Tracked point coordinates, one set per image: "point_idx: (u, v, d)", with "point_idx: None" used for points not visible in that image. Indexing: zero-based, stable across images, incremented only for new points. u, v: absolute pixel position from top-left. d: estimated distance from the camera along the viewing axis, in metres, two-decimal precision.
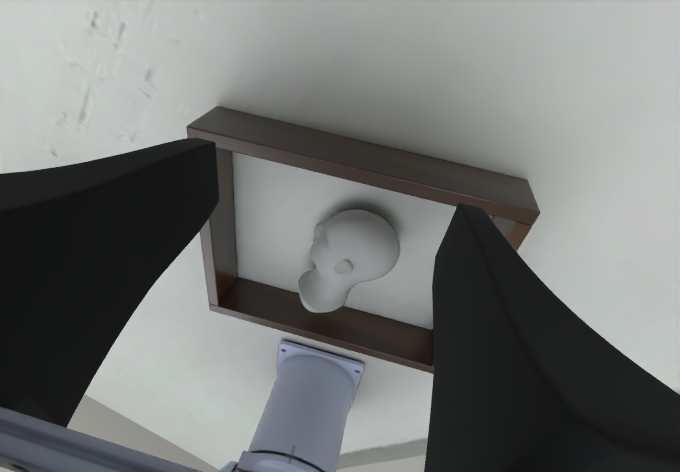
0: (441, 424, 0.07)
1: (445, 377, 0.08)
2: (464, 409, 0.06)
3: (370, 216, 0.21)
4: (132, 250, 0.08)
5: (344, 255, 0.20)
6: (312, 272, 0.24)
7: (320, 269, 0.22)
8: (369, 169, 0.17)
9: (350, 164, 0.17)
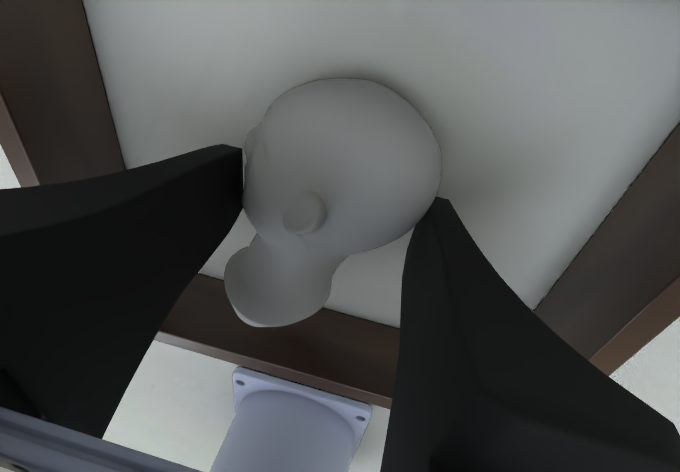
0: (397, 411, 0.07)
1: (404, 365, 0.08)
2: (413, 394, 0.06)
3: (366, 80, 0.08)
4: (165, 259, 0.08)
5: (303, 182, 0.08)
6: (252, 242, 0.11)
7: (258, 229, 0.10)
8: None
9: None
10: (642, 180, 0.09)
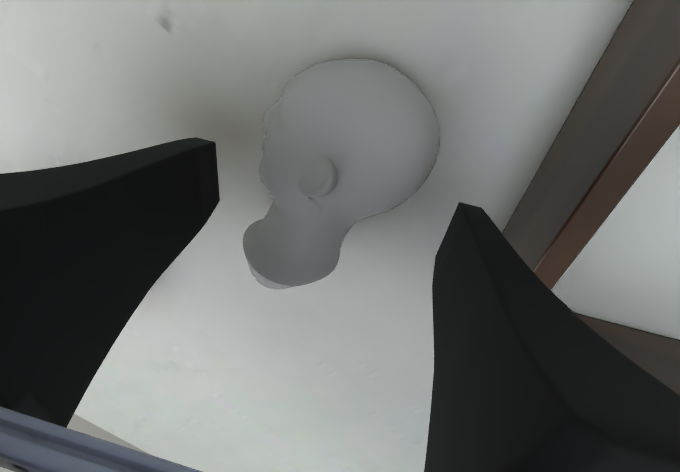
0: (441, 424, 0.07)
1: (445, 377, 0.08)
2: (464, 409, 0.06)
3: (372, 60, 0.09)
4: (132, 250, 0.08)
5: (318, 149, 0.09)
6: (268, 212, 0.12)
7: (276, 196, 0.11)
8: None
9: None
10: None
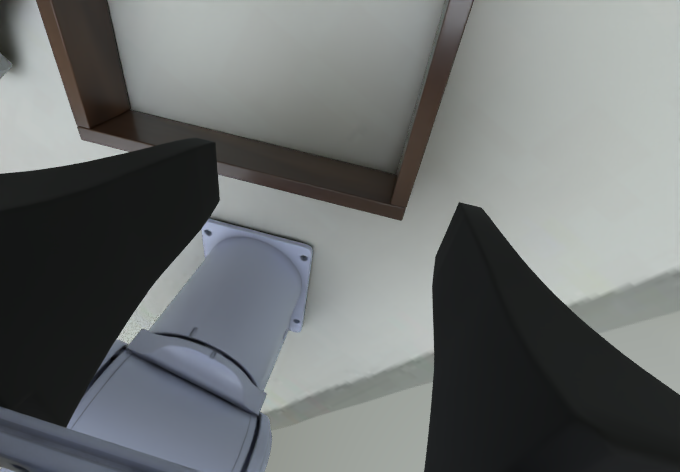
0: (441, 424, 0.07)
1: (445, 377, 0.08)
2: (464, 409, 0.06)
3: None
4: (132, 250, 0.08)
5: None
6: None
7: None
8: None
9: None
10: None
